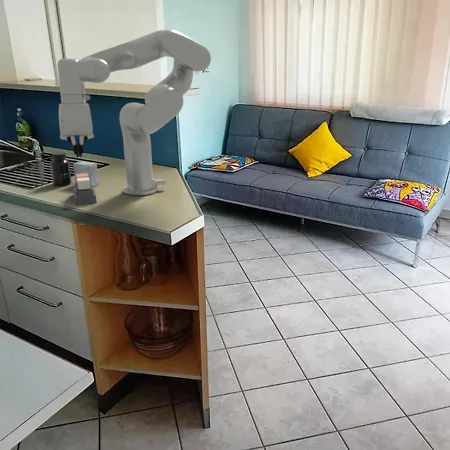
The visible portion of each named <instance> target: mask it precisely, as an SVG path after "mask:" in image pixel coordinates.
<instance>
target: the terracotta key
mask: <svg viewBox="0 0 450 450" xmlns="http://www.w3.org/2000/svg"><path fill="white" fill-rule="evenodd" d="M85 177H88V173H84V174H76V180H77V178H85Z"/></svg>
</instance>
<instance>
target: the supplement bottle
mask: <svg viewBox="0 0 450 450" xmlns="http://www.w3.org/2000/svg"><path fill="white" fill-rule="evenodd" d="M51 155H52V159H53V160H52V161H50V170H51V178H52V184H53V186H56V187H65V186H66V187H67V186H69V185H71V184H72V175H71V167H70V165H71V164H70V161H69V160H68V159H67V155H66V152H61V151H60V152H59V151H58V152H53V153H52V154H51Z"/></svg>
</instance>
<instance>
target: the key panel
mask: <svg viewBox="0 0 450 450" xmlns="http://www.w3.org/2000/svg"><path fill="white" fill-rule="evenodd" d="M72 190H73V197H74V204H75V206H78V205H79V206H80V205H89V204H97V203H98V201H97V194H96V192H95V187H93V186H92V185H91V182H90V189H82V190H78V186H77V183H76V182H74V187H73V188H72Z"/></svg>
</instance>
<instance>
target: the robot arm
mask: <svg viewBox="0 0 450 450" xmlns="http://www.w3.org/2000/svg"><path fill="white" fill-rule="evenodd" d="M165 57H168V58H169V57H170V58H173V68H172V70H171V72H170V73H169V74H168V75H167V76H166V77H165V78H163V79H162V80H161V81H160V82H158V83H157V84H155V85H154V86H153V87H151V88H150V89H149V90H148V91H147V92H146V94H145V96H144V103H145V104H143V103H140V102H128V103H126V104H125V105H124V106H123V107H121V110H120V112H119V125H120V129H121V134H122V139H123V141H122V142H123V153H124V165H125V176H126V178H125V179H126V185H125V186H123V188H122V191H123V194H125V195H129V196H147V195H151V194H155V193H156V192H157V191H158V190H159V189H158V185H161V186H162V185H167V180H166V179H165V178H164V179H162V178H154V175H153V161H152V160H153V157H152V142H151V136H150V135H151V134H153V133H155V132H157V131H158V130H160V129H161V128H163V127H164V126H165V125H166V124H168V123H169V122H170V121H172V119H174V118H175V117H176V116H178V114H179V113H181V111H182V109H183V107H184V97H183V96H184V95H185V94H186V93H187V92H188V91H189V90H190V88H191V85H192V83H193V79H194V72H202V71H205V70H207V69H208V68H209V66H210V64H211V61H212V56H211V52H210V50H209V49H208V48H207V47H206V46H204V45H203V44H202V43H199V42H198V41H196V40H194V39H192V38H190V37H188V36H187V35H185V34H183V33H181V32H180V31H177V30H175V29H160V30H156V31H153V32H151V33H148V34H145V35H142V36H141V37H137V38H135V39H132V40H129V41H127V42H124V43H121V44H118V45H116V46H113V47H110V48H106V49H103V50H100V51H98V52H95V53H92V54H89V55H87V56H84V57H82V58H80V59H79V58H60V59H59V60H57V73H58V83H59V84H58V85H59V91H60V92H59V93H60V100H61V101H60V102H61V103H59V105H58V125H59V132H60V133H59V134H60V135H59V138H60V140H63V141H67V142H69V143H70V144H72V146H73V147H72V148H73V154H74V155H75V156H76V158H79V157H80V158H82V157H83V156H82V155H84V144H85V143H86V142H87V140H89V139H93V138H94V137H95V135H94V132H93V122H92V121H93V120H92V115H91V110H90V109H91V108H90V104H89V103H87V101H90V100H91V95H88V94H86V90H85V89H86V87H85V86H86V85H85V83H94V84H102V83H104V82H106V81H107V80H108V79H109V77H110V75H111V73H114V72H118V71H122V70H123V71H124V70H126V71H127V70H133V69H137V68H140V67H143V66H144V65H148V64H149V63H153V62H154V61H157V60H160V59H162V58H165ZM75 136H78V137H79V141H78V142H77V141H76V137H75Z"/></svg>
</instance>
